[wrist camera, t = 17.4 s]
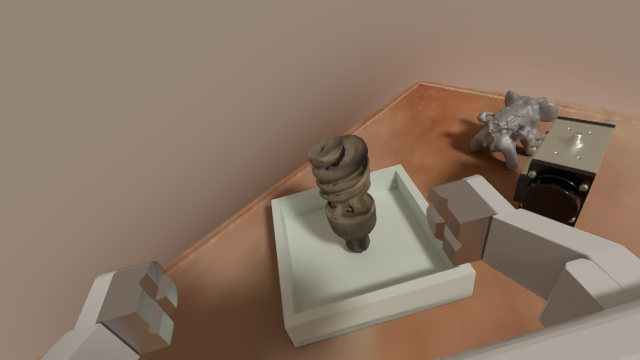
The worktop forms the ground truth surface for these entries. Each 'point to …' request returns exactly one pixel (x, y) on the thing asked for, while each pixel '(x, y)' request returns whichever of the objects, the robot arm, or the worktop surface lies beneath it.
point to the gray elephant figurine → (513, 126)
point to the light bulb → (345, 188)
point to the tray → (361, 263)
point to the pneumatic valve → (562, 168)
